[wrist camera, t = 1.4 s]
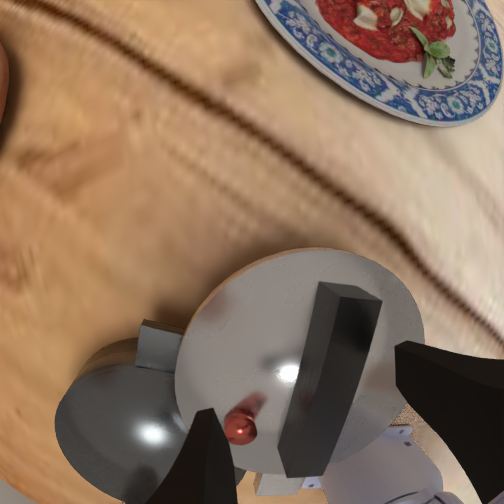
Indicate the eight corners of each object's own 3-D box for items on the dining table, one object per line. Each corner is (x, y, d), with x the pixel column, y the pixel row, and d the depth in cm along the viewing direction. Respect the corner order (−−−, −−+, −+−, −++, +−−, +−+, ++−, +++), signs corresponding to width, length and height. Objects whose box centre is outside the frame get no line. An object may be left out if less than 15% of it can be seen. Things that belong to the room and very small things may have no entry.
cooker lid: (362, 475, 19) (381, 508, 15) (169, 477, 17) (166, 519, 13) (437, 266, 17) (480, 280, 13) (193, 226, 15) (187, 234, 11)
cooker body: (312, 334, 22) (338, 366, 17) (249, 495, 24) (257, 534, 19) (83, 283, 20) (53, 305, 15) (80, 463, 22) (66, 500, 17)
